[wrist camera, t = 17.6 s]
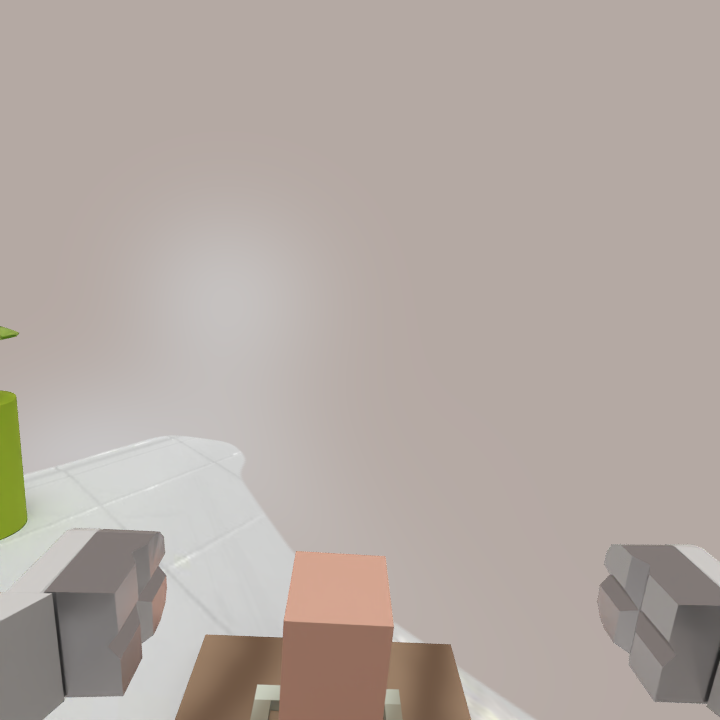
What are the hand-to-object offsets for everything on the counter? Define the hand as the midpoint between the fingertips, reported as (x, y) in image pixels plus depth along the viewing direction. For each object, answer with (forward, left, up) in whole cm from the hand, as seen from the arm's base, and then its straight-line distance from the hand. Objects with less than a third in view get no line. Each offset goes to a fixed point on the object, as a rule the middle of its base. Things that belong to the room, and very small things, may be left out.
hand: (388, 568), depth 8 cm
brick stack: (0, -12, -22) cm, 25 cm away
